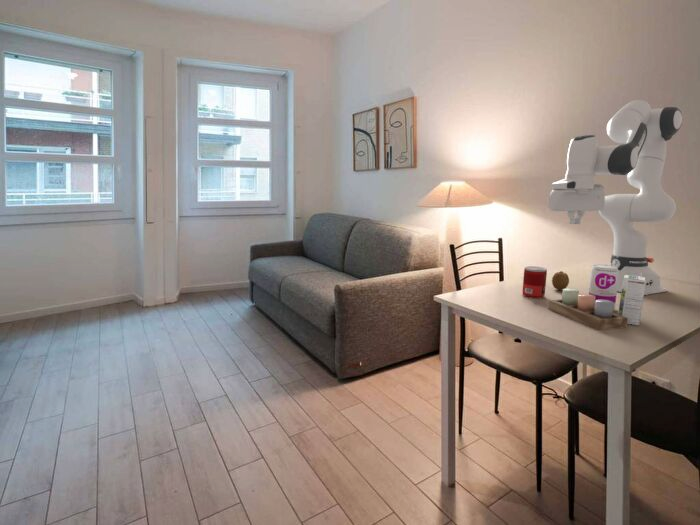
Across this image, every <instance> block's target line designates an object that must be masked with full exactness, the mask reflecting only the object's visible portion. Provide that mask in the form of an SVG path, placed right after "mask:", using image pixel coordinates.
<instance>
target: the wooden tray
mask: <svg viewBox="0 0 700 525" xmlns="http://www.w3.org/2000/svg"><path fill="white" fill-rule="evenodd" d="M547 308H548V309H549V310H551V311H553V312H555V313H558V314H560V315H562V316H565V317H567V318H570V319H572V320H575V321H577V322H578V323H582V324H584V325H586V324H587V325H586V326H588V325H589V326H588V327H590V328H593V329H595V328H596V329H595V330H598V331H599V330H602V329H603V330H611V328H614V329H622V328H621V327H625V328H627V327H628V324H627V320H628V318H627V317H624V316H621V315H618V313H615V312H613V314H612V318H605V319H602V318H600V317H597V316H594V311H588V312H584V311H581V310H579V309H577V305H569V306H568V305H566V304H563V303H562V298H561V299H559V298H558V299H548V305H547ZM594 309H595V306H594ZM603 330H602V331H603Z"/></svg>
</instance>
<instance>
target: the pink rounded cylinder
mask: <svg viewBox="0 0 700 525" xmlns="http://www.w3.org/2000/svg"><path fill="white" fill-rule="evenodd" d="M594 305H595V296H594V295H590V294H588V293H579V294H578V303H577V309H579V310H581V311H584V312H588V311H594Z"/></svg>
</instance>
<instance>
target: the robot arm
mask: <svg viewBox="0 0 700 525" xmlns="http://www.w3.org/2000/svg"><path fill="white" fill-rule="evenodd" d="M682 123H683V115H682V111H681V110H680V109H679V108H678V107H675V106H666V107H662V108H653V109H652V107H651V105H650V104H649V102H647V101H646V100H643V99H635V100H631V101H630V102H628V103H626V104H625V105H623V106H622V107H621V108H620V109H619V110H618V111H616V113H615V114H614V115H613V116H612V117H611V118H610V120H608V123H607V125H606V134H607V137H609V138H610V140H611V141H613V142H614V143H617V145H616V144H615V145H602V146H601V145H600V146H599V144H598V137H597V136H596V135H594V134H589V135H587V134H586V135H580V136H575V137H574V138H571V140H570V143H569V147H568V150H567V156H566V157H567V158H566V165H567V167H566V168H567V170H566V173H565V178H563V179H560V180H557V181H554V182H552V183H551V189H552V190H551V192H550V193H549V197H548V209H549V211H551V212H567V216H568V218H569V224H570V225H581V220H582V218H583V217H584V215H585V212H586V211H587V212H588V211H589V212H595V211H596V212H597V211H598V214H599V216H600V217H601V218H602V219H604V221H606V223H608V225H609V226H610V228H611V230H612V233H613V251H612V254H611V257H610V264H611V266H616V267H618V270H619V279H618V287H617V292H618V293H621V291H622V286H623V281H624V276H625V275H633V276H640V277H645V278H646V284H645V291H644V296H647V295H653V294H659V293H665V292H667V290H668V289H667V288H665V287H663V286H660V285H661V278H660V276H659V274H658V273H656V271H655V270H653V269H652V268H650V266H649V263H651V264H652V263H654V261H655V259H654V257H649V256H648V257H647V256H646V255H647V248H648V241H649V240H648V238H647V235H645V234H644V233H643V232H641V231H639V230H637V229H636V228H635V227H634V225H633V222H634V223H651V224H652V223H664V222H668V221H669V220H671V218H672V217H673V216H674V215H675V214H676V212H677V211H676V210H677V205H676V202H675V200H674V199H673V197H672V196H670V195H669V194H667V193H666V192H665V191H664V189H663V186H662V175H663V171H664V168H665V166H664V165H665V162H666V158H667V147H668V146H667V144H668V143H667V141H669V140H671V139H673V136H674V135H676V133H678V131H679V130H680V129H681V126H682ZM595 175H615V176H616V175H617V176H626V180H627V183H628V184H629V185H630V186H632V187H634V188H635V189H638V190H639V193H614V194H609V195H605V187H604V186H603V185H602V184H600V183H597V184H596V183H595V179H596V178H595ZM575 215H576V216H575Z"/></svg>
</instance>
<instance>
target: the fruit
mask: <svg viewBox="0 0 700 525" xmlns="http://www.w3.org/2000/svg"><path fill="white" fill-rule="evenodd" d="M551 284H552V286H553V288H554V289H556V290H557V291H563V289H567V287H568V286H569V284H570V278H569V275H568V273H566V272H563V271H561V270H560V271H558V272H555V273H554V274H553V275H552V279H551Z"/></svg>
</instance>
